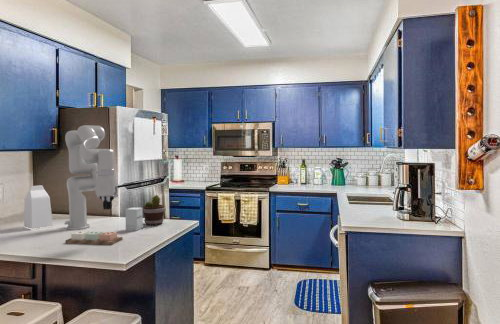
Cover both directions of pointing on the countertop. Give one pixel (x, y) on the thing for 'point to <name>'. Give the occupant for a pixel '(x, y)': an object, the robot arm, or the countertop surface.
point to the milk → (37, 208)
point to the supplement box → (134, 219)
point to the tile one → (79, 235)
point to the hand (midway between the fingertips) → (107, 208)
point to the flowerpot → (153, 211)
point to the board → (94, 241)
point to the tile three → (108, 236)
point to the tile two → (93, 235)
